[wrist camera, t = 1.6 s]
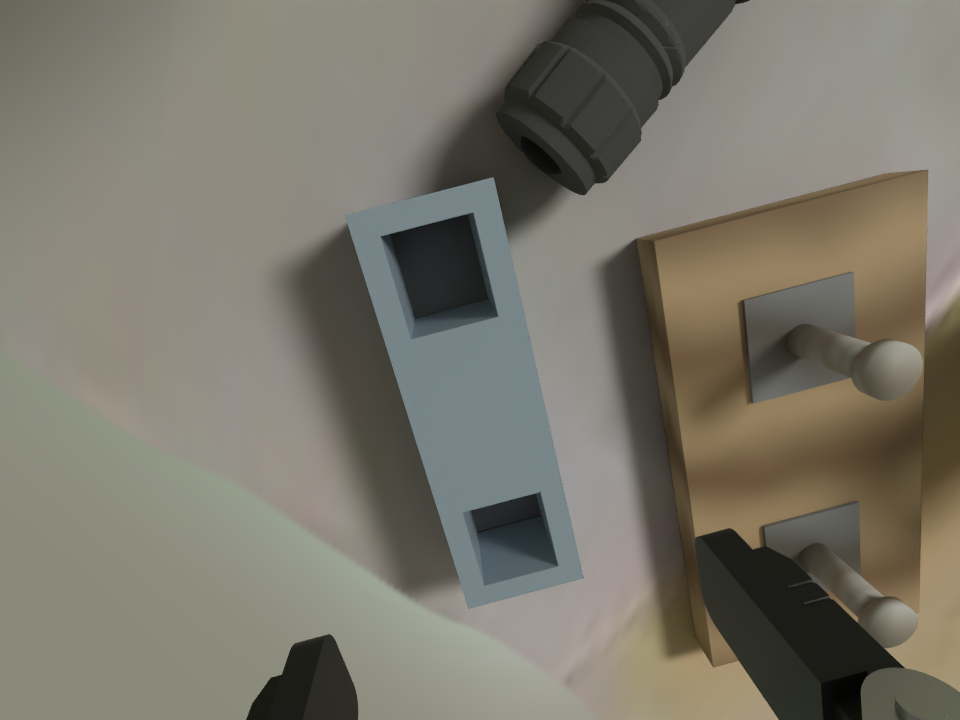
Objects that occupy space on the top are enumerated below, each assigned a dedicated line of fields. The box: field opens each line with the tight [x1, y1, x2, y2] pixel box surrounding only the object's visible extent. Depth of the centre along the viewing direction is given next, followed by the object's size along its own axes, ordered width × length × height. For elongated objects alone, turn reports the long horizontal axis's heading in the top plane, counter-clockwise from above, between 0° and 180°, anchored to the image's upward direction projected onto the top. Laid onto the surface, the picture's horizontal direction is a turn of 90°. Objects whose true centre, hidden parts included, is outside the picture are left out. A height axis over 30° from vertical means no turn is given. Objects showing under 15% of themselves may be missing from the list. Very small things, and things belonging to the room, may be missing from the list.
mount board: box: [636, 170, 928, 667], centre depth 24 cm, size 24×12×7 cm, turn 14°
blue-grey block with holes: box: [345, 177, 583, 609], centre depth 23 cm, size 18×6×4 cm, turn 14°
